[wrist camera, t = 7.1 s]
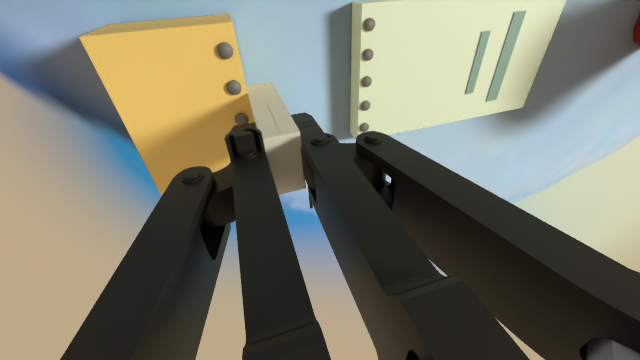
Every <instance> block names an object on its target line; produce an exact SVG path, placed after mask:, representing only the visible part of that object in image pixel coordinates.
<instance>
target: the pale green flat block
mask: <svg viewBox="0 0 640 360" xmlns="http://www.w3.org/2000/svg"><path fill="white" fill-rule="evenodd" d="M565 3H566V0H371V1H360V2H352V42H351V107H350V133H351V134H352V136H353V137H354V138H355V139H356V137H357V136H358V135H359V134H361V133H363V132H367V131H376V132H381V133H384V134H386V135H390V134H395V133H400V132H405V131H410V130H415V129H420V128H425V127H430V126H434V125H439V124H444V123H449V122H454V121H459V120H464V119H469V118H474V117H479V116H484V115H489V114H493V113H498V112H503V111H508V110H513V109H518V108H523V106H524V103H525V101H526V98H527V96H528V93H529V91H530V88H531V86H532V84H533V81H534V79H535V76H536V74H537V71H538V69H539V66H540V64H541V62H542V59H543V57H544V54H545V52H546V49H547V47H548V44H549V42H550V39H551V37H552V35H553V32H554V30H555V27H556V25H557V22H558V20H559V17H560V15H561V12H562V10H563V8H564V5H565Z"/></svg>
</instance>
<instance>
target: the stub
mask: <svg viewBox="0 0 640 360" xmlns="http://www.w3.org/2000/svg"><path fill="white" fill-rule="evenodd" d="M79 38H80V40H81V42H82V44H83V46H84V48H85V50H86V51H87V53H88V55H89V57H90V59H91V61H92V63H93V65H94V67H95V69H96V71H97V73H98V75H99V76H100V78H101V80H102V82H103V84H104V86H105V88H106V90H107V92H108V94H109V96H110V98H111V100H112V101H113V103H114V105H115V107H116V109H117V111H118V113H119V115H120V117H121V119H122V121H123V123H124V124H125V126H126V128H127V130H128V132H129V134H130V136H131V138H132V140H133V142H134V144H135V146H136V148H137V149H138V151H139V153H140V155H141V157H142V159H143V161H144V163H145V165H146V167H147V169H148V171H149V172H150V174H151V176H152V178H153V180H154V182H155V184H156V186H157V188H158V190H159V192H160V193H161V195H163V194H164V192H165V190H166V189H167V187H168V185H169V184H170V182H171V181H172V179H173V178H174V177H175V176H176V175H177V174H178V173H179V172H181V171H183V170H184V169H188V168H190V167H196V166H205V167H208V168H210V169H211V171H212V173H213V172H216V171H218V170H220V169H223V168H224V167H226V166H227V165H228V164H229V163H230V156H229V153H228V149H227V146H226V142H225V139H224V138H225V136H226V135H227V134H228V133H229V132H230V130H231V129H232V128H233V126H235V125H241V124H247V123H252V122H254V121H253V116H252V112H251V107H250V102H249V98H248V92H247V87H246V83H245V78H244V73H243V68H242V64H241V59H240V54H239V50H238V45H237V40H236V35H235V31H234V26H233V22H232V19H231V17H230V15H229V14H220V15H209V16H198V17H187V18H176V19H164V20H153V21H142V22H131V23H120V24H109V25H106V26H104V27H102V28H99V29H97V30H94V31H92V32H89V33H87V34H85V35H82V36H80V37H79Z"/></svg>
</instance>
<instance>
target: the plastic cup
mask: <svg viewBox="0 0 640 360" xmlns="http://www.w3.org/2000/svg"><path fill="white" fill-rule="evenodd" d="M634 40H635V41H636V43H637V44H638V45H640V17H639V19H638V22H637V25H636V27H635V30H634Z"/></svg>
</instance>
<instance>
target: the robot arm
mask: <svg viewBox="0 0 640 360" xmlns="http://www.w3.org/2000/svg"><path fill="white" fill-rule="evenodd" d="M246 87H247V92H248V98H249V102H250V107H251V112H252V116H253V121H254V122H252V123H247V124H241V125H235V126H233V128H232V129H231V130H230V132H229V133H228V134H227V135H226V136H225V138H224V139H225V142H226V146H227V149H228V153H229V156H230V163H229V164H228V165H227V166H226V167H224V168H223V169H220V170H218V171H216V172H213V173H212V171H211V169H210V168H208V167H205V166H196V167H190V168H188V169H184V170H183V171H181V172H179V173H178V174H177V175H176V176H175V177H174V178H173V179H172V181H171V182H170V184H169V185H168V187H167V189H166V190H165V192H164V194H163V195H162V197H161V198H160V200H159V202H158V203H157V205H156V206H155V208H154V210H153V211H152V213H151V214H150V216H149V218H148V219H147V221H146V223H145V224H144V226H143V228H142V229H141V231H140V232H139V234H138V236H137V237H136V239H135V240H134V242H133V243H132V245H131V247H130V248H129V250H128V251H127V253H126V255H125V256H124V258H123V260H122V261H121V263H120V264H119V266H118V268H117V269H116V271H115V272H114V274H113V276H112V277H111V279H110V281H109V282H108V284H107V285H106V287H105V289H104V290H103V292H102V293H101V295H100V297H99V298H98V300H97V301H96V303H95V305H94V306H93V308H92V309H91V311H90V313H89V314H88V316H87V318H86V319H85V321H84V322H83V324H82V326H81V327H80V329H79V331H78V332H77V334H76V335H75V337H74V338H73V340H72V342H71V343H70V345H69V346H68V348H67V350H66V351H65V353H64V355H63V356H62V358H61V359H60V360H195V358H196V355H197V351H198V347H199V344H200V340H201V336H202V333H203V328H204V325H205V321H206V318H207V314H208V310H209V307H210V303H211V299H212V296H213V292H214V288H215V284H216V280H217V277H218V273H219V269H220V266H221V262H222V258H223V254H224V251H225V247H226V244H227V240H228V236H229V232H230V229H231V226H230V225H231V224H230V223H231V222H233V221H235V220H236V228H237V240H238V251H239V263H240V273H241V285H242V296H243V307H244V319H245V330H246V344H245V346H244V348H243V355H242V360H331V358H330V355H329V352H328V349H327V345H326V342H325V339H324V336H323V333H322V330H321V327H320V325H319V323H318V321H317V320H316V318H315V315H314V312H313V309H312V305H311V302H310V299H309V295H308V292H307V289H306V285H305V282H304V279H303V276H302V272H301V269H300V266H299V262H298V259H297V255H296V252H295V249H294V245H293V242H292V239H291V235H290V232H289V229H288V225H287V222H286V219H285V215H284V212H283V209H282V205H281V202H280V199H279V194H283V193H287V192H291V191H296V190H300V189H304V188H306V183H305V180H306V182H307V184H308V191H309V201H310V208H313V206H314V208H315V210H316V212H317V215H318V217H319V219H320V222H321V224H322V226H323V229H324V231H325V233H326V235H327V238H328V240H329V242H330V245H331V247H332V249H333V252H334V254H335V256H336V258H337V261H338V263H339V265H340V268H341V270H342V272H343V275H344V277H345V279H346V281H347V284H348V286H349V288H350V291H351V293H352V295H353V297H354V300H355V302H356V304H357V307H358V309H359V311H360V314H361V316H362V318H363V321H364V323H365V325H366V327H367V330H368V332H369V334H370V337H371V339H372V341H373V344H374V346H375V348H376V352H377V355H378V360H530V359H529V358H528V357H527V356H526V355H525V353H524V352H523V351H522V350H521V349H520V347H519V346H518V345H517V344H516V343H515V341H514V340H513V339H512V338H511V337H510V335H509V334H508V333H507V332H506V331H505V329H504V328H503V327H502V326H501V325H500V324H499V322H498V321H497V320H499V321H500V322H501V323H502V324H503V325H504V326H505V327H506V328H508V329H509V330H510V331H511V332H512V333H513V334H514V335H516V336H517V337H518V338H519V339H520V340H521V341H523V342H524V343H525V344H527V345H528V346H529V347H530V348H531V349H532V350H534V351H535V352H536V353H537V354H539V355H540V356H541V357H543V358H544V359H545V360H640V273H639V272H636V271H633V270H631V269H629V268H627V267H625V266H623V265H621V264H620V263H618V262H616V261H614V260H613V259H611V258H609V257H607V256H605V255H604V254H602V253H600V252H598V251H596V250H594V249H593V248H591V247H589V246H587V245H585V244H584V243H582V242H580V241H578V240H576V239H575V238H573V237H571V236H569V235H567V234H565V233H564V232H562V231H560V230H558V229H556V228H554V227H553V226H551V225H549V224H547V223H546V222H543V221H542V220H540V219H538V218H536V217H534V216H533V215H531V214H529V213H527V212H526V211H524V210H522V209H520V208H518V207H517V206H515V205H513V204H511V203H509V202H508V201H506V200H504V199H502V198H500V197H498V196H497V195H495V194H493V193H491V192H489V191H488V190H486V189H484V188H482V187H480V186H479V185H477V184H475V183H473V182H471V181H469V180H468V179H466V178H464V177H462V176H460V175H459V174H457V173H455V172H453V171H451V170H450V169H448V168H446V167H444V166H442V165H440V164H439V163H437V162H435V161H433V160H431V159H430V158H428V157H426V156H424V155H422V154H421V153H419V152H417V151H415V150H413V149H412V148H410V147H408V146H406V145H404V144H402V143H401V142H399V141H397V140H395V139H393V138H392V137H390V136H388V135H386V134H384V133H381V132H376V131H367V132H363V133H361V134H359V135H358V136H357V137H356V143H339V142H338V140H337V139H336V138H335V137H334V136H333V135H331V134H328V133H324V132H323V131H322V129H321V128H320V127H319V125H318V124H317V122H316V121H315V120H314V118H313V117H312V116H311V115H309V114H307V113H300V114H294V115H290V113H289V111H288V110H287V108H286V106H285V104H284V103H283V101H282V99H281V97H280V95H279V94H278V92H277V90H276V88H275V87H274V85H273V83H265V84H258V85H251V86H246ZM386 174H387V175H388V176H390V177H391V178H392V179H391V183H389V182H387V181H386ZM429 260H430V261H431V262H433V263H434V264H435V265H436V266H437V267H438V268H439V269H441V270H442V271H443V272H444V273H445V274H446V275H447V276H446V277H445V276H443V275H441V274H440V273H439V272H438V271H437V270H436V269H435V267H434V266H433V265H432V263H431V262H430V261H429ZM496 319H497V320H496Z"/></svg>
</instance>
